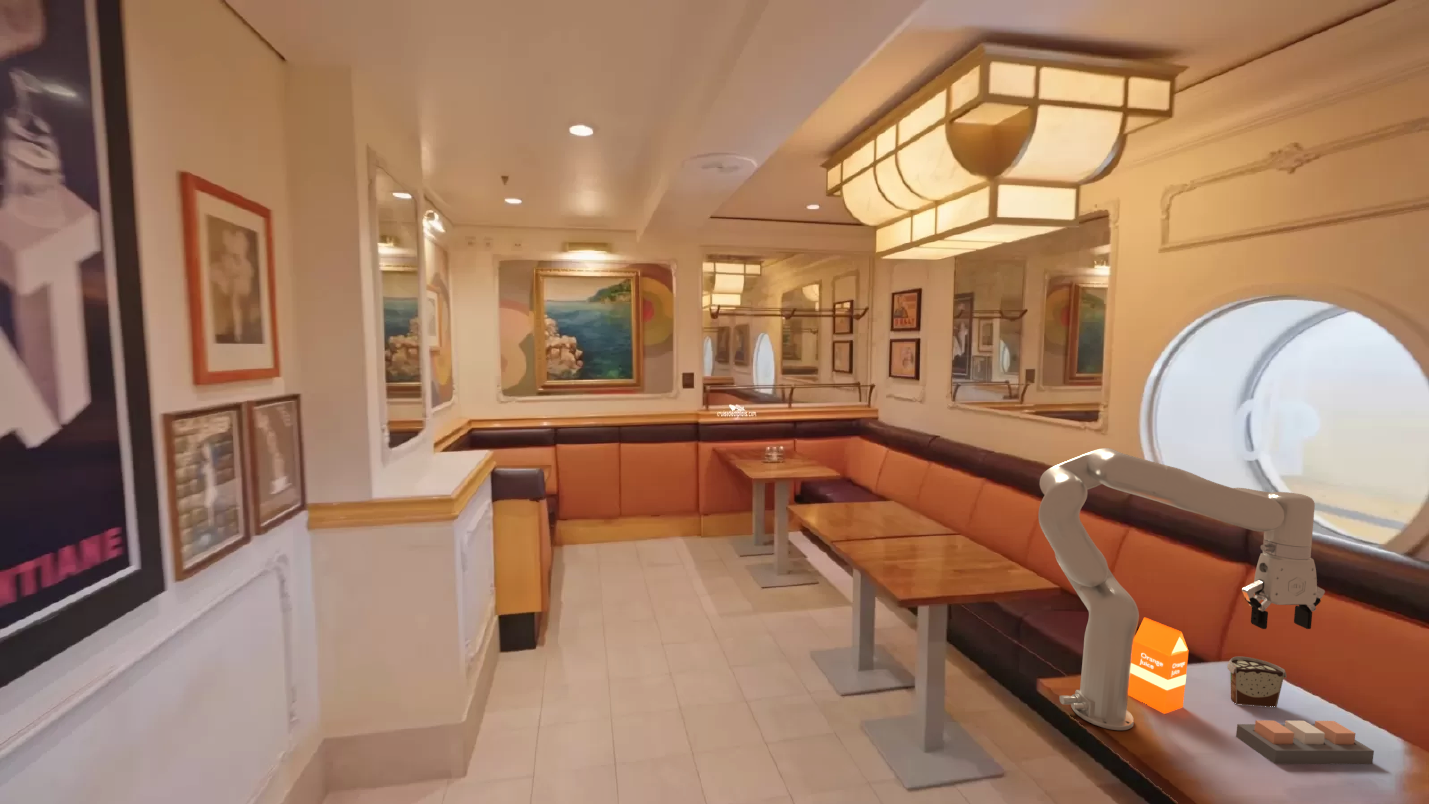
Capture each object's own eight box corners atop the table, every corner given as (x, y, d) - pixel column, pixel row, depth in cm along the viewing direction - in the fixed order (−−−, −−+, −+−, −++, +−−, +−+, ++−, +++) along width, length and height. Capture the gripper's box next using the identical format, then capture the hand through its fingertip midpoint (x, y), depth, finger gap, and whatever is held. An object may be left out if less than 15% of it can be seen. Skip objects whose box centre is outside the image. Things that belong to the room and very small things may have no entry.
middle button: (1303, 750, 130) (1305, 733, 130) (1283, 737, 135) (1285, 720, 134) (1322, 750, 130) (1324, 733, 130) (1302, 737, 135) (1304, 720, 134)
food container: (1262, 694, 155) (1267, 657, 154) (1283, 708, 149) (1287, 670, 148) (1211, 690, 156) (1215, 653, 155) (1229, 704, 150) (1233, 665, 149)
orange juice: (1164, 714, 145) (1172, 634, 143) (1126, 694, 153) (1133, 619, 151) (1183, 707, 148) (1191, 629, 146) (1145, 688, 156) (1152, 614, 154)
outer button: (1334, 750, 131) (1336, 733, 130) (1313, 737, 135) (1315, 720, 135) (1353, 750, 131) (1355, 733, 130) (1331, 737, 135) (1333, 720, 135)
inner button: (1272, 750, 130) (1274, 732, 130) (1253, 737, 134) (1255, 720, 134) (1292, 750, 130) (1294, 733, 130) (1272, 737, 135) (1274, 720, 134)
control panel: (1274, 763, 128) (1275, 750, 127) (1235, 736, 137) (1237, 724, 136) (1372, 764, 129) (1374, 750, 128) (1327, 737, 138) (1329, 724, 137)
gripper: (1263, 555, 126) (1257, 634, 127) (1343, 555, 126) (1337, 634, 128) (1232, 544, 134) (1226, 619, 135) (1308, 544, 134) (1302, 618, 135)
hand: (1280, 626), depth 131 cm, fingers open, 9 cm apart
